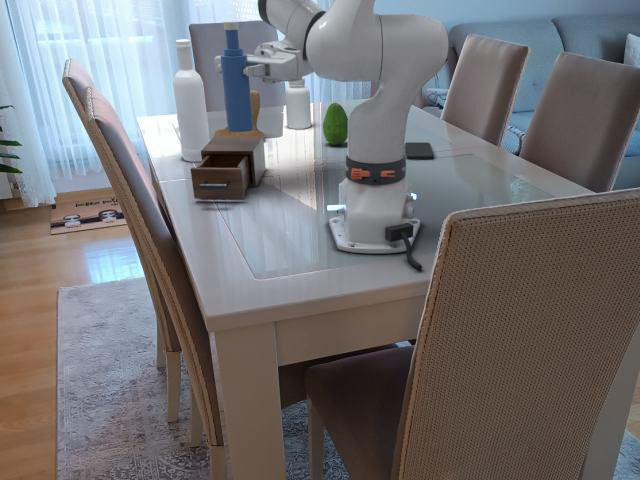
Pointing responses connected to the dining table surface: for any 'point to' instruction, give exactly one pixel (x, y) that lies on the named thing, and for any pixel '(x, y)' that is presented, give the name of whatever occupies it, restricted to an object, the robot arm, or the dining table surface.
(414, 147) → the phone
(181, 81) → the bottle
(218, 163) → the drawer
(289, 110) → the pill bottle
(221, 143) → the cabinet
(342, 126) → the avocado
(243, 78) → the bottle
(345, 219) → the robot arm
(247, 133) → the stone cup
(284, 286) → the dining table surface
